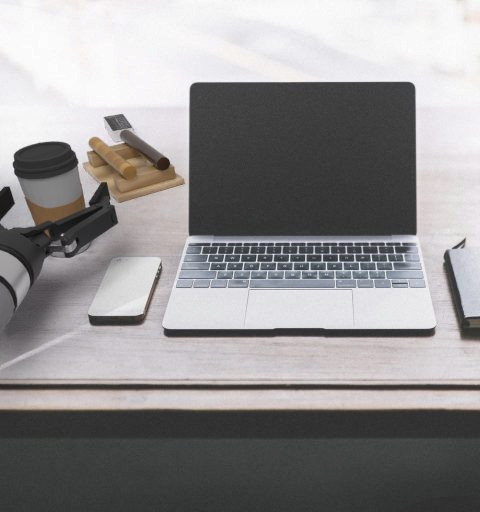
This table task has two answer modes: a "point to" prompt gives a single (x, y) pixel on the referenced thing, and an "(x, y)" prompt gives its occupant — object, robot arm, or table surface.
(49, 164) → the coffee cup
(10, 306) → the robot arm
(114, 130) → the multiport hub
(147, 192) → the rod rack
